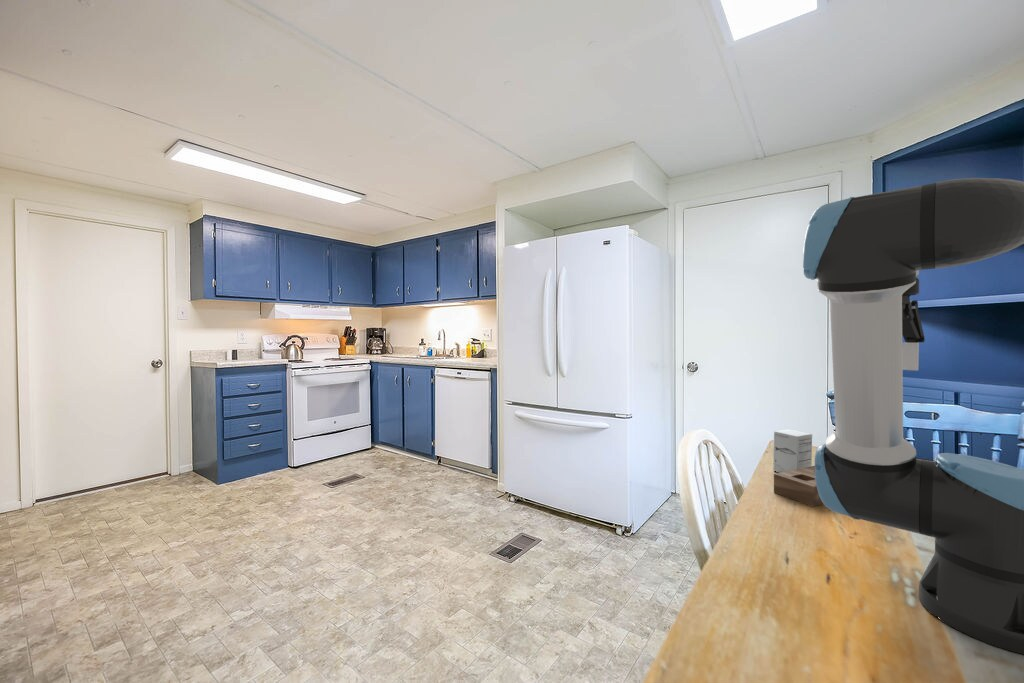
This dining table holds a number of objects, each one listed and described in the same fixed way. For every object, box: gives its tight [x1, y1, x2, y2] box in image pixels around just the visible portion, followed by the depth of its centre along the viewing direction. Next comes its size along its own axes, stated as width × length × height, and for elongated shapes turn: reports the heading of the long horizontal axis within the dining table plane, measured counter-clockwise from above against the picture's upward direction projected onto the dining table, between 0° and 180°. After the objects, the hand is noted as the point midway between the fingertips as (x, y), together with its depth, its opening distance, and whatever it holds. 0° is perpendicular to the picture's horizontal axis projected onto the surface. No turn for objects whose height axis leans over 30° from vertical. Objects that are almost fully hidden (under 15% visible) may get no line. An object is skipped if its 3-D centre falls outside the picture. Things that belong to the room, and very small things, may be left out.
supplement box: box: [772, 428, 813, 473], centre depth 127 cm, size 7×7×13 cm
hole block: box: [773, 465, 824, 508], centre depth 111 cm, size 18×10×5 cm, turn 113°
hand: (895, 371), depth 96 cm, fingers open, 13 cm apart
